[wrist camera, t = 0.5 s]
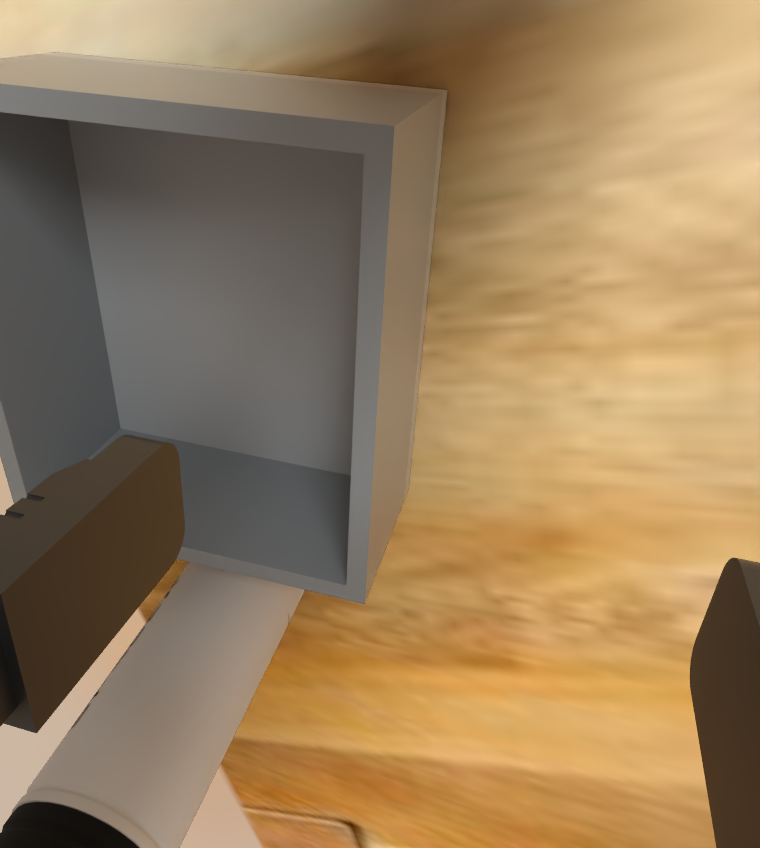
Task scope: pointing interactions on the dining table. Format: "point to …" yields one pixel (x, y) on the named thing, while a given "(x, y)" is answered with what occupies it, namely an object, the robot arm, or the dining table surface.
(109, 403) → the crate
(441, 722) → the dining table surface
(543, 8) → the dining table surface
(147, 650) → the travel mug
